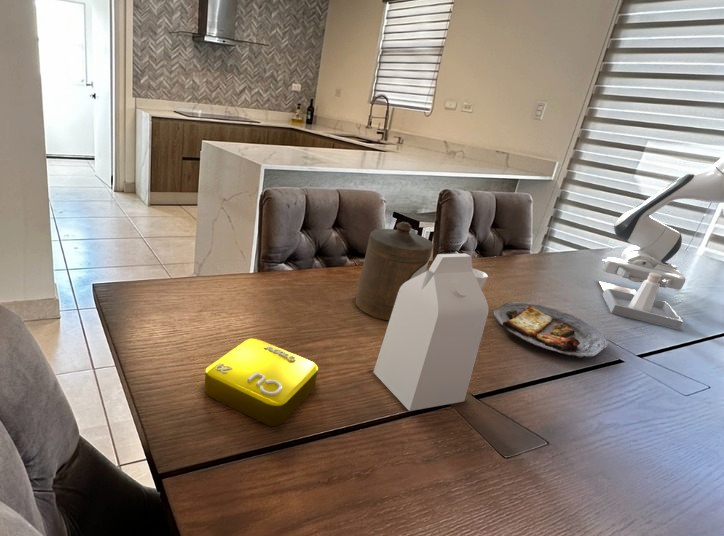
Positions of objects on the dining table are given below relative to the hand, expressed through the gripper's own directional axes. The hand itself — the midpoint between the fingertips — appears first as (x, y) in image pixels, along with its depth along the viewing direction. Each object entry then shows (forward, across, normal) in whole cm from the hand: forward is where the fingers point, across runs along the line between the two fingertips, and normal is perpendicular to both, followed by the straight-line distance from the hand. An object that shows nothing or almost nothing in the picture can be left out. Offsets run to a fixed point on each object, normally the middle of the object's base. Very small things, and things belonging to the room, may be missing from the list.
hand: (644, 280), depth 138 cm
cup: (+39, -42, +7) cm, 58 cm away
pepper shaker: (+9, 0, +6) cm, 11 cm away
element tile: (+109, -64, +7) cm, 127 cm away
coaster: (-6, -4, +7) cm, 10 cm away
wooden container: (+62, -58, +7) cm, 85 cm away
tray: (+9, 0, +7) cm, 11 cm away
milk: (+90, -42, +7) cm, 99 cm away
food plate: (+47, -22, +7) cm, 52 cm away
